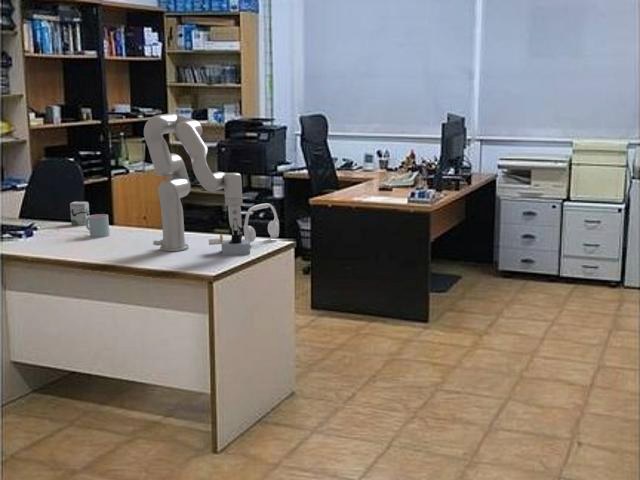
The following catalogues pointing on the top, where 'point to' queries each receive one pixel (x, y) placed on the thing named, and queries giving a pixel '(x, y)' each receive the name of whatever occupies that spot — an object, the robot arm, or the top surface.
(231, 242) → the plug
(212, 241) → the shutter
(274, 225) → the headset
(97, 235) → the mug
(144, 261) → the top surface
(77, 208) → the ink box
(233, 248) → the socket
